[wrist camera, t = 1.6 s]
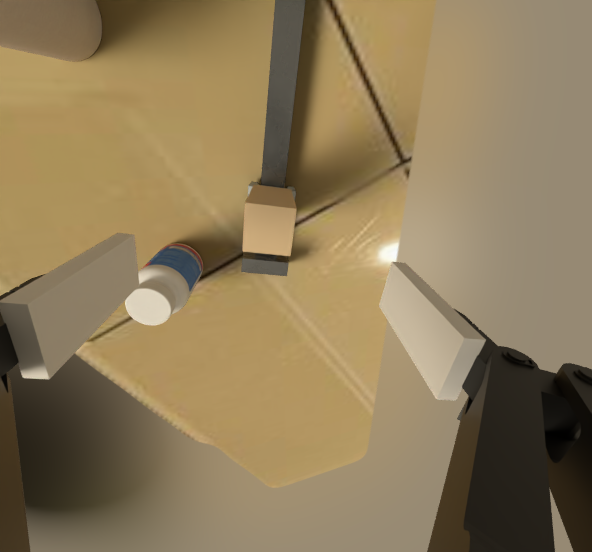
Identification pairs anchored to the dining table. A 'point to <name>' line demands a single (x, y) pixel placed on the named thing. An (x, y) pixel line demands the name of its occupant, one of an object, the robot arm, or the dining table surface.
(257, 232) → the carriage
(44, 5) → the coffee cup
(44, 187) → the dining table surface
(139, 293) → the pill bottle
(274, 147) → the rail
